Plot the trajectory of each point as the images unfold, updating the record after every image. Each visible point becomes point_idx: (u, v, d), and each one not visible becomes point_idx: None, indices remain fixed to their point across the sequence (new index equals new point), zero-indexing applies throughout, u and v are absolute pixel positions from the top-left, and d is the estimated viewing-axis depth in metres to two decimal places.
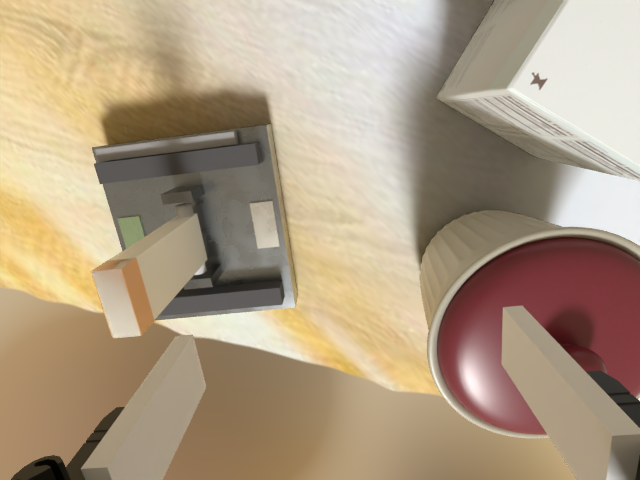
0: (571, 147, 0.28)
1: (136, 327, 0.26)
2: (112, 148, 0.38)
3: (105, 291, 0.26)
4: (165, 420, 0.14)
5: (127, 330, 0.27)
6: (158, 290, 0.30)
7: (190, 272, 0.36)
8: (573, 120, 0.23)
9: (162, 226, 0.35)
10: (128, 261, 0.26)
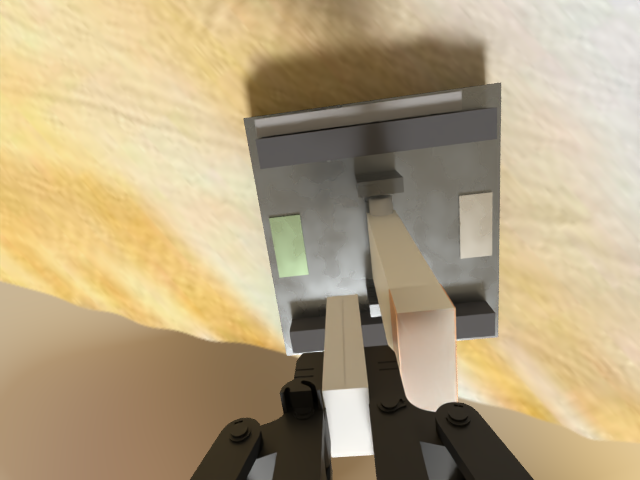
0: None
1: None
2: (280, 118, 0.27)
3: (414, 348, 0.14)
4: None
5: None
6: None
7: None
8: None
9: (375, 229, 0.24)
10: (440, 292, 0.15)
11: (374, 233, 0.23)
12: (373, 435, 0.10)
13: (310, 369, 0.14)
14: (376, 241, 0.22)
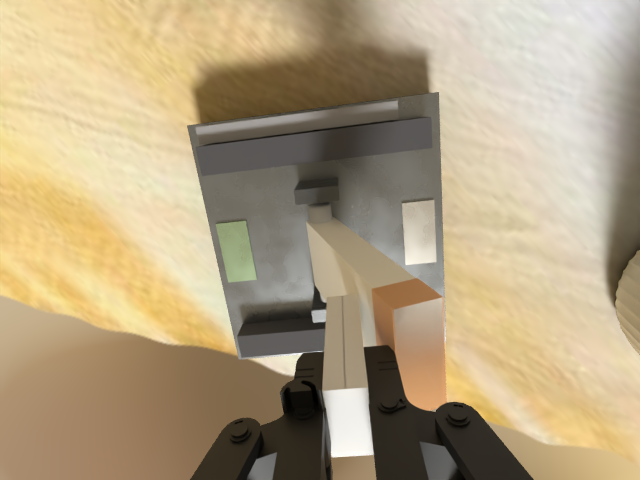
0: None
1: (441, 393, 0.16)
2: (220, 125, 0.27)
3: (408, 341, 0.15)
4: None
5: (427, 400, 0.16)
6: None
7: None
8: None
9: (324, 235, 0.24)
10: (421, 285, 0.16)
11: (325, 239, 0.23)
12: (373, 435, 0.10)
13: (310, 369, 0.14)
14: (332, 246, 0.22)
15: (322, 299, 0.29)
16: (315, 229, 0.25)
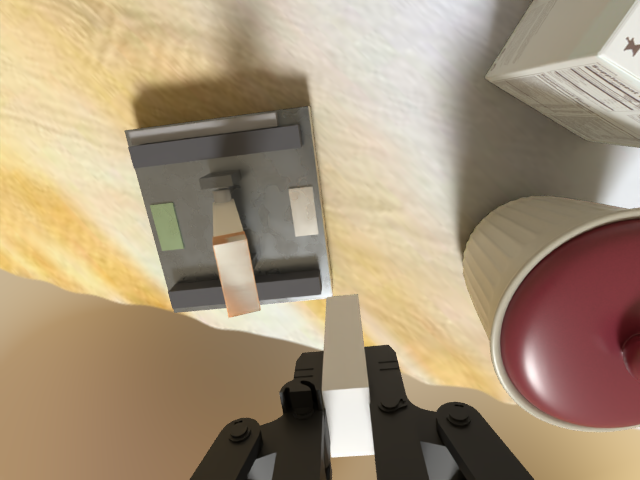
0: None
1: (255, 302, 0.25)
2: (147, 131, 0.36)
3: (227, 266, 0.24)
4: None
5: (246, 306, 0.25)
6: None
7: None
8: None
9: (215, 210, 0.33)
10: (242, 234, 0.25)
11: (213, 212, 0.33)
12: (373, 435, 0.10)
13: (310, 369, 0.14)
14: (213, 216, 0.31)
15: None
16: (213, 207, 0.35)
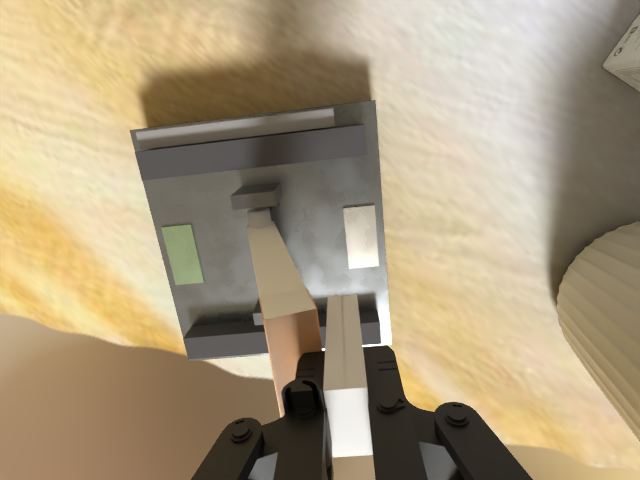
0: None
1: None
2: (160, 131, 0.27)
3: (283, 350, 0.15)
4: None
5: None
6: None
7: None
8: None
9: (253, 240, 0.24)
10: (305, 295, 0.16)
11: (251, 245, 0.24)
12: (372, 435, 0.10)
13: (311, 369, 0.14)
14: (252, 252, 0.22)
15: None
16: (249, 234, 0.26)
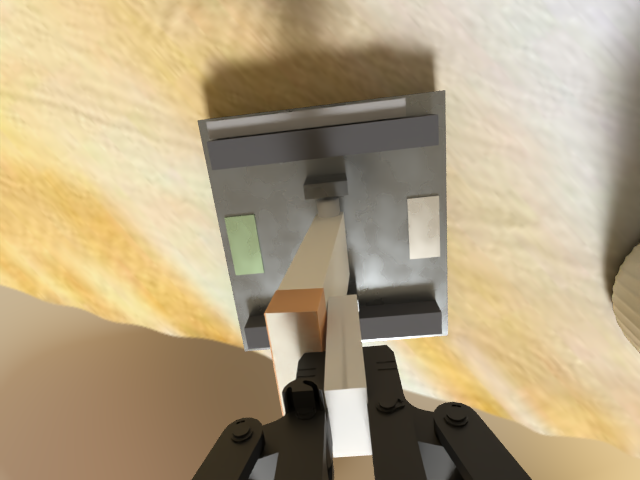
0: None
1: None
2: (231, 121, 0.27)
3: (284, 346, 0.15)
4: None
5: None
6: None
7: None
8: None
9: (311, 230, 0.25)
10: (316, 295, 0.16)
11: (307, 235, 0.24)
12: (371, 435, 0.10)
13: (312, 369, 0.14)
14: (302, 243, 0.23)
15: None
16: (312, 223, 0.26)
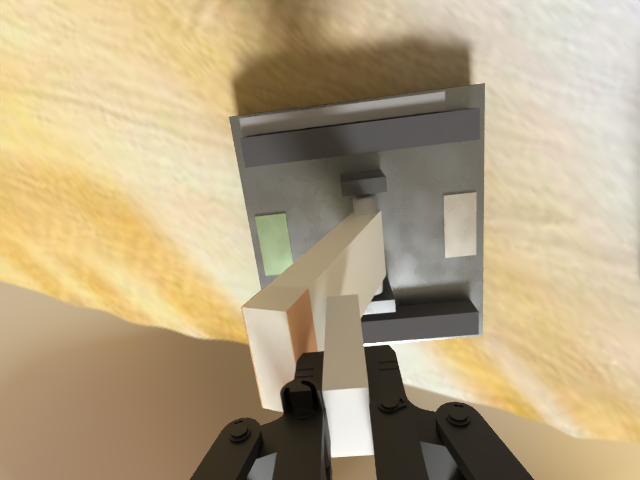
0: None
1: None
2: (265, 116, 0.27)
3: (259, 341, 0.16)
4: None
5: None
6: None
7: (368, 297, 0.25)
8: None
9: (337, 227, 0.24)
10: (297, 295, 0.16)
11: (330, 232, 0.24)
12: (373, 435, 0.10)
13: (310, 369, 0.14)
14: (320, 240, 0.23)
15: None
16: (343, 220, 0.26)
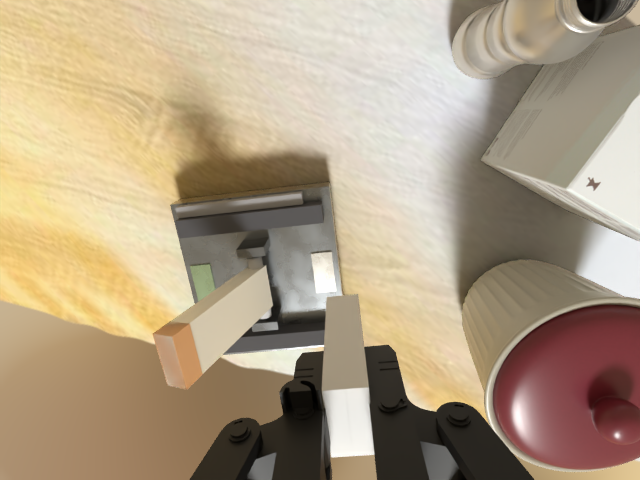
0: (613, 225, 0.32)
1: (183, 382, 0.32)
2: (191, 207, 0.42)
3: (162, 350, 0.31)
4: None
5: (177, 382, 0.32)
6: (211, 346, 0.35)
7: (250, 322, 0.40)
8: (621, 215, 0.28)
9: (230, 280, 0.40)
10: (181, 327, 0.32)
11: (225, 283, 0.39)
12: (373, 435, 0.10)
13: (310, 369, 0.14)
14: None
15: None
16: (238, 273, 0.42)
